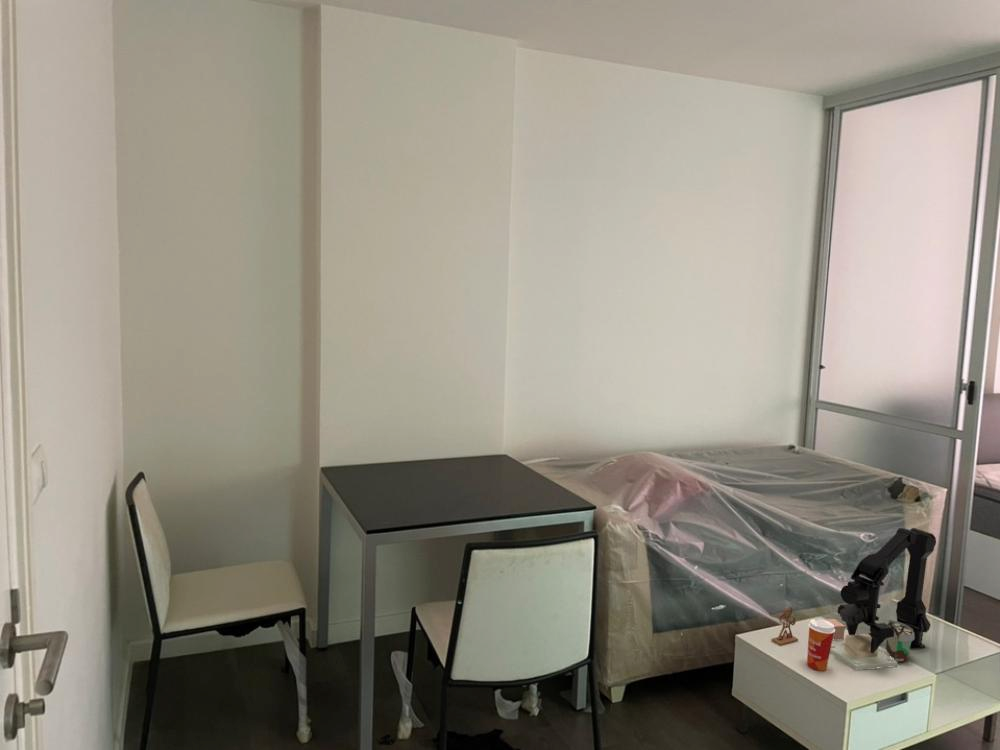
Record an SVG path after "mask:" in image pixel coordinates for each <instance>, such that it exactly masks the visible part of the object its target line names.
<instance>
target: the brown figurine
mask: <svg viewBox="0 0 1000 750" xmlns="http://www.w3.org/2000/svg"><path fill="white" fill-rule="evenodd" d="M793 611H794V610H793V607H791V606H790V605H789V606H788V605H787V606H786V607H785V608H784V610H783V612H781V613H779V614H778V620H779V622H780V623H782V629H781V630H780V632H779V635H778V636H777V637H773V638H771V639H770V642H772V643H773V644H775V645H777V646H779V647H783V646H786V645H790V644H794V643H798V642H799V638H798V637H796V636H794V635H793V632H792V629H791V626H794V625H796V622H797V621H796V617H795V616H794V615H792V614H793ZM791 618H792V620H790V619H791ZM782 619H784V620H785V621H782ZM787 629H788V630H787ZM788 631H789V632H788Z"/></svg>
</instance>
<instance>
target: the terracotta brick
mask: <svg viewBox="0 0 1000 750" xmlns="http://www.w3.org/2000/svg"><path fill="white" fill-rule="evenodd" d="M822 620H825V621H828V622H830V623H832V624H833V625H834V629H835V632H834V634H833V639H834V640H833V639H832V641H836V640H835V639H843V640H844V638H845V629H846V625H845V624H842V623H841V622H840V621H838V620H837V619H835V618H829V619H828V618H827V619H822Z"/></svg>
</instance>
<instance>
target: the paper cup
mask: <svg viewBox="0 0 1000 750" xmlns="http://www.w3.org/2000/svg"><path fill="white" fill-rule="evenodd" d="M834 632H835V629H834V625H833V624H832V623H830V622H828V621H825V620H823V619H811V620H810V621H809V623H808V642H807V656H806V657H807V659H806V665H807V667H808V668H810V669H812V670H813V671H817V672H825V671H826V670H827V667H828V664H829V659H830V654H831V653H830V649H831V644H832V643H833V640H832V639H833V634H834Z"/></svg>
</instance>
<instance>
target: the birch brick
mask: <svg viewBox="0 0 1000 750" xmlns="http://www.w3.org/2000/svg"><path fill="white" fill-rule="evenodd" d="M844 643H845V648H844V650H845V651H846V652H848V653H849V654H851V655H852V656H854V657H855V658H866V657H877V654H878V650H879V648H878V649H877V650H876V651H875V652H874V653H871V636H870V635H869V633H860V634H859V633H858V634H857V633H856V634H855V635H849V634H846V636H845V641H844Z"/></svg>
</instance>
